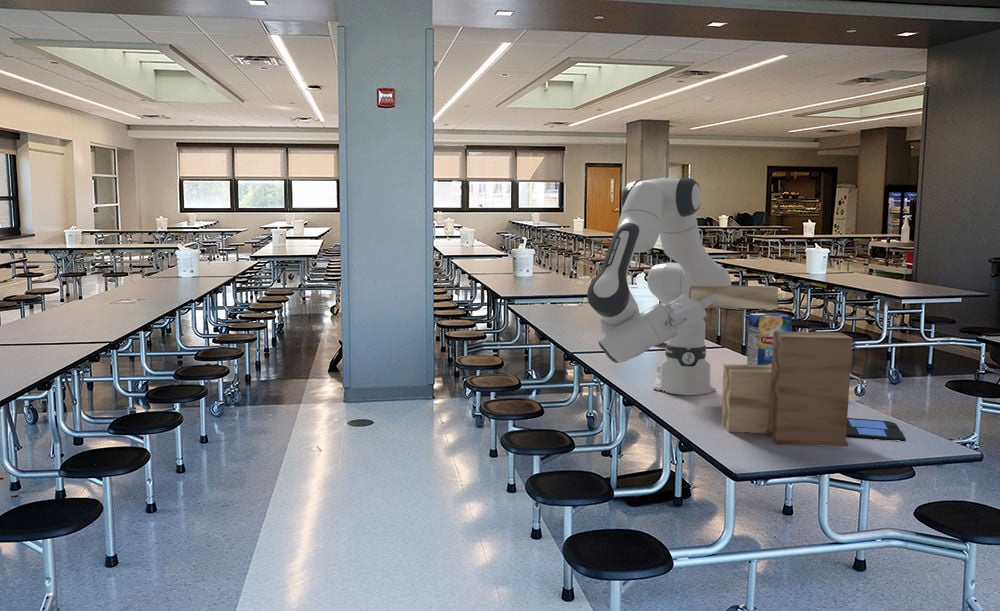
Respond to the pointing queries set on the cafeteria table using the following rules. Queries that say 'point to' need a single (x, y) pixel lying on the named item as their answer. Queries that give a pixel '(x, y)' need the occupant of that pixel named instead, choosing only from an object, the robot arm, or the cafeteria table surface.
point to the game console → (873, 429)
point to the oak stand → (746, 398)
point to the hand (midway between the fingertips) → (714, 294)
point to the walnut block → (809, 388)
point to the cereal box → (764, 336)
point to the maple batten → (737, 296)
